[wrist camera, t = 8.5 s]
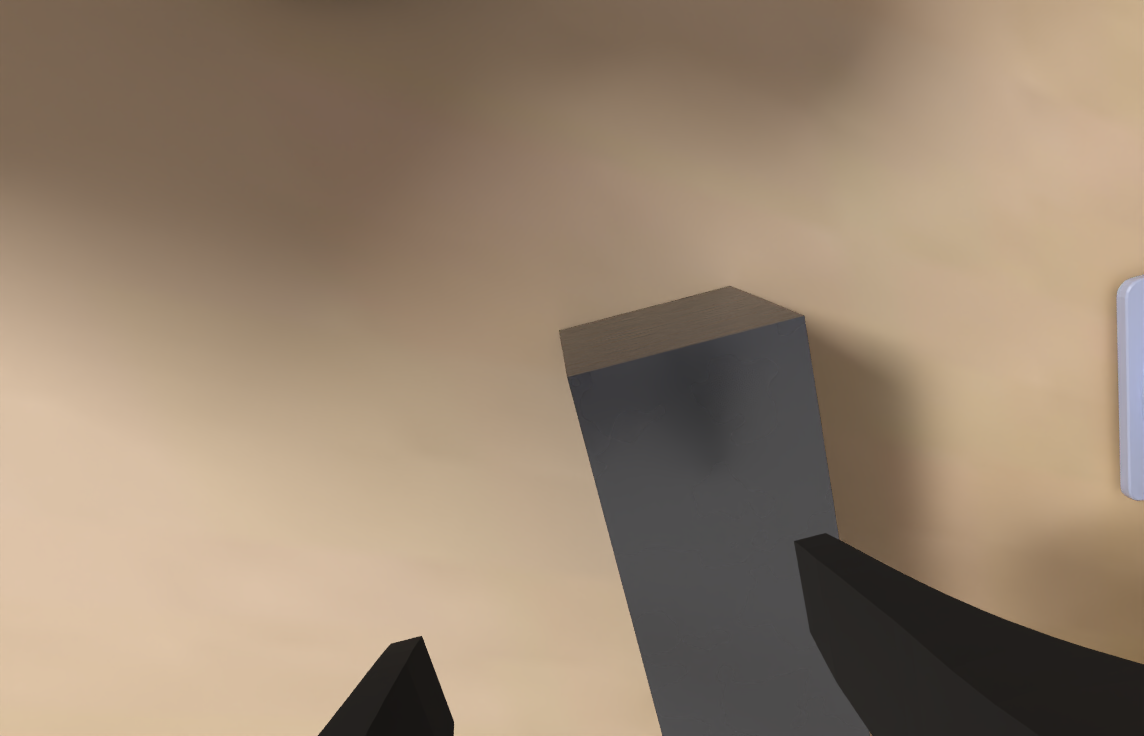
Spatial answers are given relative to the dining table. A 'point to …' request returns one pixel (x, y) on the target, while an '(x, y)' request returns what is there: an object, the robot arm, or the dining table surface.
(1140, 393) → the robot arm
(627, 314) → the dark grey rectangular bar
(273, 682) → the dining table surface
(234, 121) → the dining table surface
